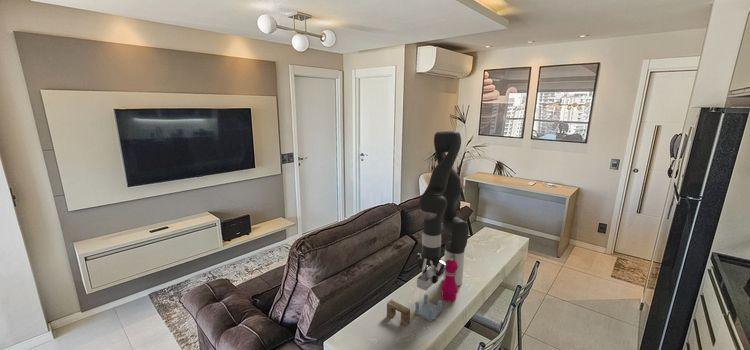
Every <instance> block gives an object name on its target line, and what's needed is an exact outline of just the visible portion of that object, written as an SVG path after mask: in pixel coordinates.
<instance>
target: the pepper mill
mask: <svg viewBox="0 0 750 350" xmlns="http://www.w3.org/2000/svg"><path fill="white" fill-rule="evenodd" d="M446 263H447V266H446V268H445V274H446V277H445V280H444V281H443V282H442V283H441V287H440V289H441V292H442V293H441V297H442V299H443V300H444V301H446V302H454V301H455V300H456V299H457V293H458V291H459V290H458V286H457V285H456V282H455V275H456V270H457V269H458V264H457V262H456V261H454V260H453V258H452V257H450V258H449V260H447V261H446Z"/></svg>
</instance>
